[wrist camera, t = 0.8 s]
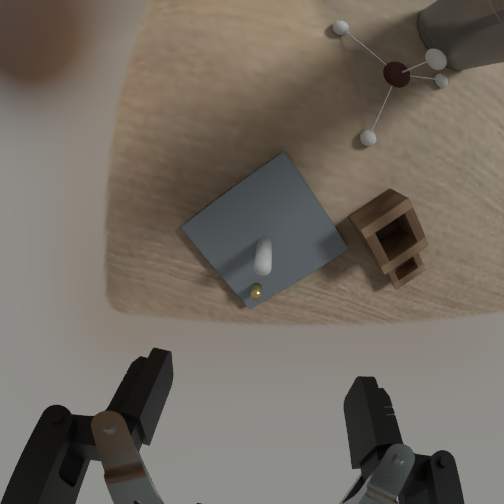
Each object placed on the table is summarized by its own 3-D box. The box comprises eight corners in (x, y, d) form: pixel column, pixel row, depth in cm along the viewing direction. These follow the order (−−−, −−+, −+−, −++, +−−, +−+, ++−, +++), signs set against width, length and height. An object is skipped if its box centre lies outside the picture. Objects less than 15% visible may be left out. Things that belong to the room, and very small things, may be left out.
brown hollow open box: (389, 188, 29) (408, 198, 24) (422, 260, 32) (440, 278, 28) (348, 215, 31) (360, 229, 26) (386, 285, 34) (399, 305, 29)
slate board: (283, 151, 29) (287, 155, 22) (346, 245, 32) (363, 273, 26) (183, 224, 32) (162, 247, 26) (250, 304, 36) (245, 340, 29)
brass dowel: (257, 280, 33) (256, 289, 31) (263, 288, 34) (263, 297, 32) (249, 285, 34) (248, 294, 32) (255, 293, 34) (254, 302, 32)
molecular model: (359, 147, 28) (410, 155, 16) (328, 24, 23) (357, -29, 11) (452, 139, 26) (521, 150, 15) (426, 28, 21) (483, -2, 9)
